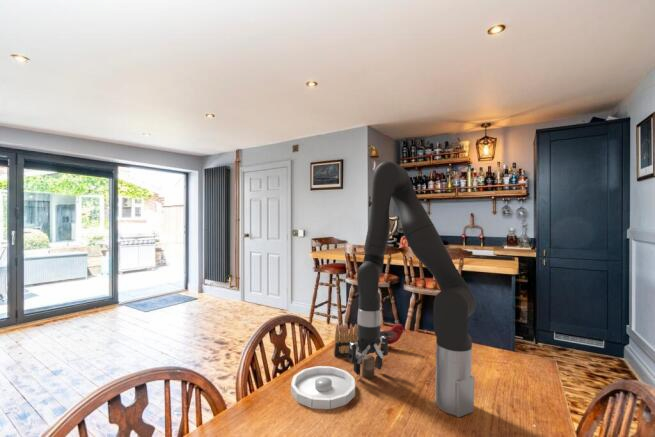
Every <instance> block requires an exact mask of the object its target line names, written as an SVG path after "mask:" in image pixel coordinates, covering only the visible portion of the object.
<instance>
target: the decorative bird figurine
mask: <svg viewBox="0 0 655 437" xmlns="http://www.w3.org/2000/svg"><path fill="white" fill-rule="evenodd" d="M404 331H407V329H406V328H405V327H404V325H403V324H402V323H396V324H394V325H392V326H391V327H389V328H385V329H380V337H381V336H384V337H386V338H387V339H388V349H393V348H396V347H395V346H391V344H392V345H393V344H394V343H396V342H398V341H399V340H400V338H401V336H402V335H403V333H404Z"/></svg>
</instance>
